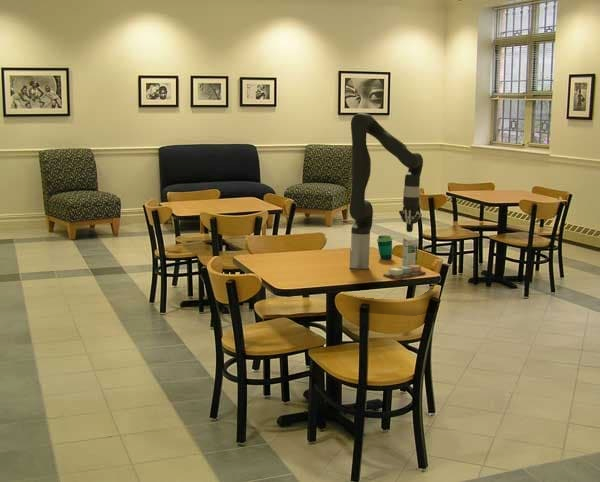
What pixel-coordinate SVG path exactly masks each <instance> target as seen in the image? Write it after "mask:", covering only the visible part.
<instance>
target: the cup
mask: <svg viewBox="0 0 600 482" xmlns="http://www.w3.org/2000/svg"><path fill="white" fill-rule="evenodd" d="M376 242H377V247H378V254H379V256H380V257H379V259H380V260H383V261H390V260H392V259H393V257H392V256H393V255H392V254H393V237H392V236H391V235H386V234H385V235H382V234H381V235H378V237H377V239H376Z"/></svg>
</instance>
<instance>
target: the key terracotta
mask: <svg viewBox="0 0 600 482" xmlns="http://www.w3.org/2000/svg"><path fill="white" fill-rule="evenodd" d="M407 267H411V268H412V272H414V273H415V272H419V271H422V266H421V265H418V264H417V265H414V264H413V265H408V266H407Z"/></svg>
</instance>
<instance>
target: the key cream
mask: <svg viewBox="0 0 600 482" xmlns="http://www.w3.org/2000/svg"><path fill="white" fill-rule="evenodd" d="M387 273H390V275H394V276H399V275H401V274H403V269H399V268H398V267H392V268H388V272H387Z"/></svg>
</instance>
